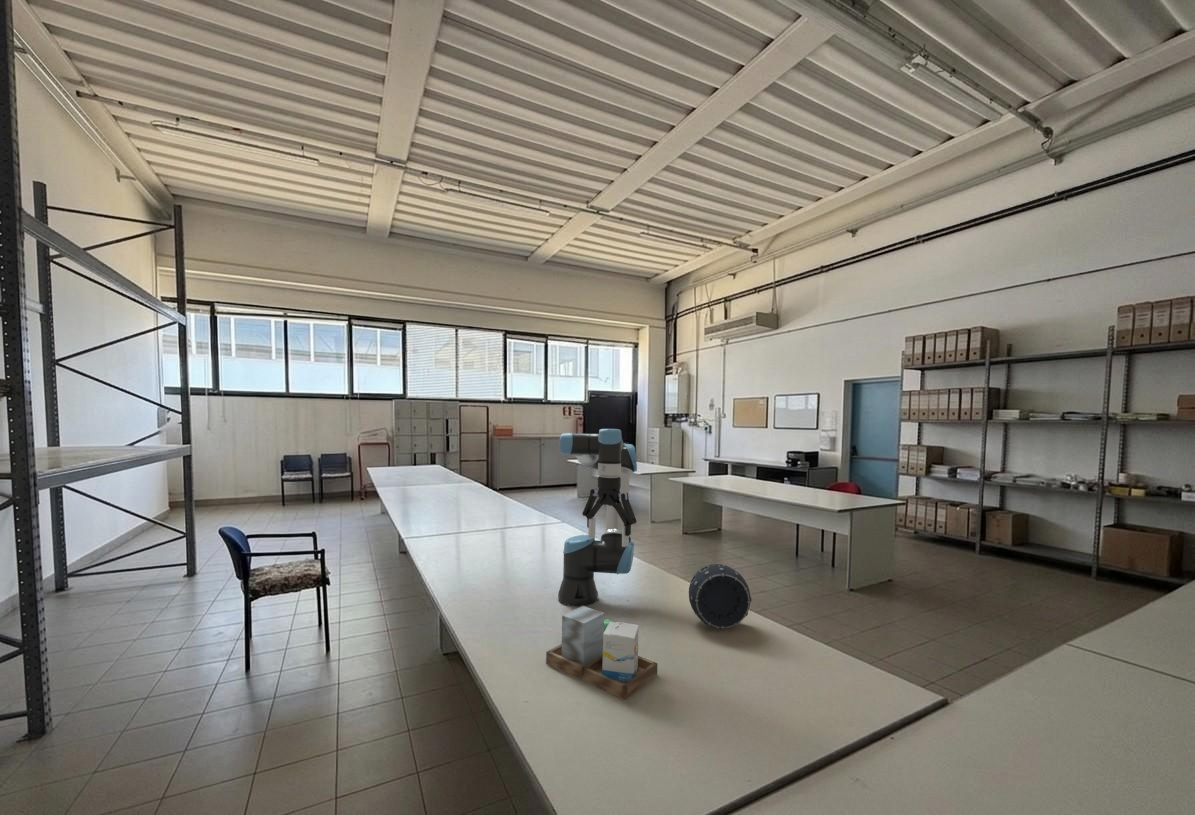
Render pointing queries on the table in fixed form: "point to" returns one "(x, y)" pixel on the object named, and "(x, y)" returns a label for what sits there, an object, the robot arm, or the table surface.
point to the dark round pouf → (719, 596)
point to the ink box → (620, 651)
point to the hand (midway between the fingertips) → (608, 542)
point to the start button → (606, 623)
